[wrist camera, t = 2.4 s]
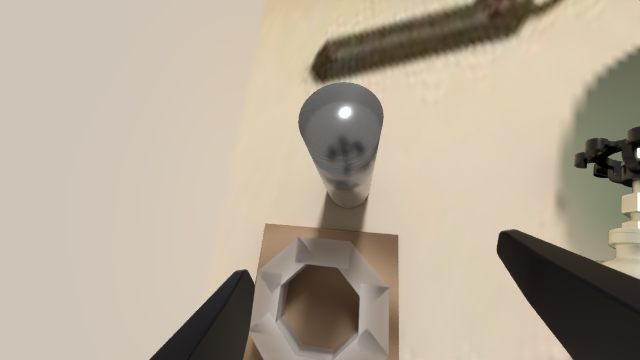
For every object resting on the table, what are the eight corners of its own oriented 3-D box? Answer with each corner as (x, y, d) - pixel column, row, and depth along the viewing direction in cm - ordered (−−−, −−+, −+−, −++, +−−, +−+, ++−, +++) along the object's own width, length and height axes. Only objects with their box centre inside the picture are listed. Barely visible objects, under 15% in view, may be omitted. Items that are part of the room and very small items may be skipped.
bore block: (397, 405, 16) (405, 437, 13) (243, 372, 18) (223, 393, 16) (396, 235, 20) (403, 232, 17) (268, 224, 22) (255, 220, 19)
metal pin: (378, 185, 21) (401, 109, 10) (350, 216, 21) (343, 173, 10) (346, 160, 23) (336, 69, 12) (319, 189, 22) (282, 123, 11)
